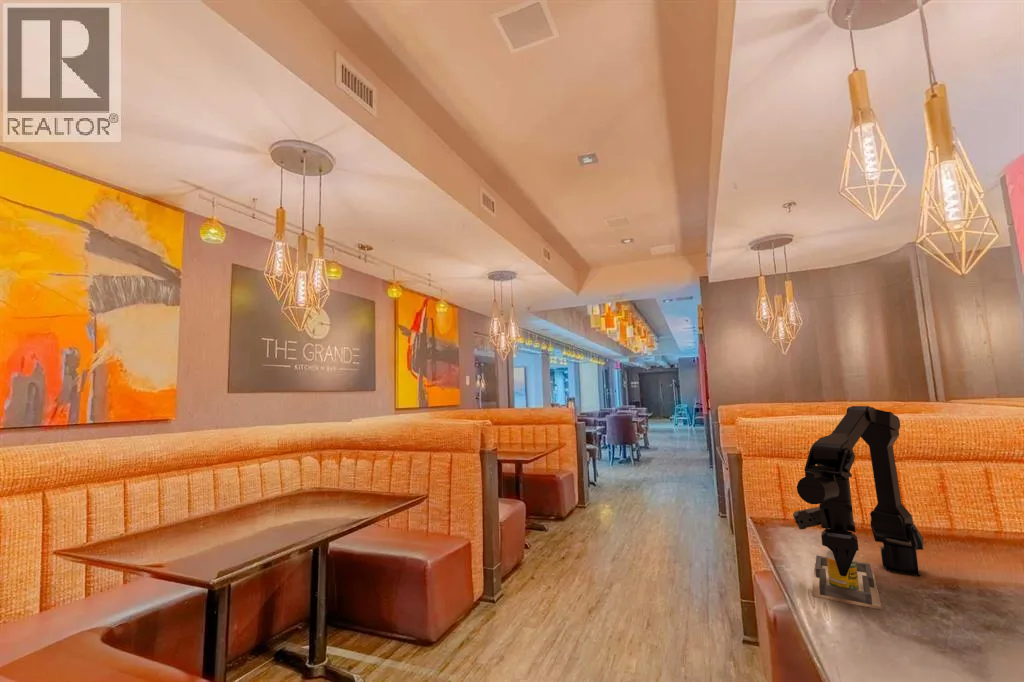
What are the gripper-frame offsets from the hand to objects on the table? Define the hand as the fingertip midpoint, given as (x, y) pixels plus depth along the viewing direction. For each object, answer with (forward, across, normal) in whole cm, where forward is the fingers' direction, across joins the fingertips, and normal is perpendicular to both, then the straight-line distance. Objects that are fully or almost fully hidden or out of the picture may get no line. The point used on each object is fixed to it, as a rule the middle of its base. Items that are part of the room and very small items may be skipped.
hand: (842, 571), depth 100 cm
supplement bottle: (+4, 0, 0) cm, 4 cm away
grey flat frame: (+5, -7, 0) cm, 9 cm away
